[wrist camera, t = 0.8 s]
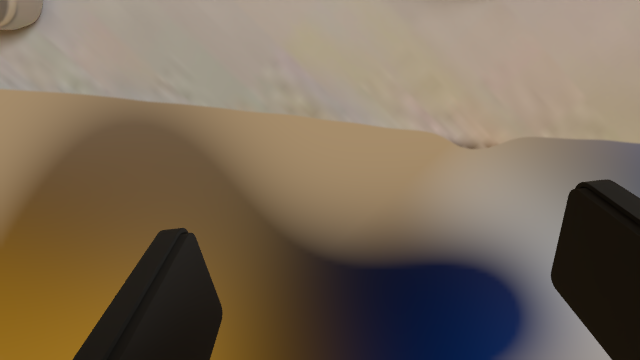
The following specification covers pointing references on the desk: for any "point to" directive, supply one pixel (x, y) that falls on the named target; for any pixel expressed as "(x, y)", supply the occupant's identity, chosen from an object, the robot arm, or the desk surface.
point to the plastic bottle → (19, 13)
